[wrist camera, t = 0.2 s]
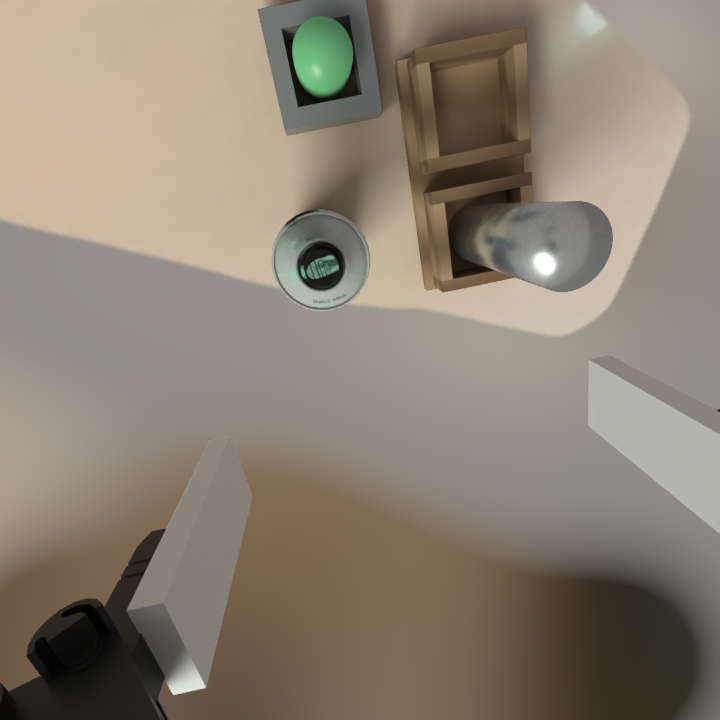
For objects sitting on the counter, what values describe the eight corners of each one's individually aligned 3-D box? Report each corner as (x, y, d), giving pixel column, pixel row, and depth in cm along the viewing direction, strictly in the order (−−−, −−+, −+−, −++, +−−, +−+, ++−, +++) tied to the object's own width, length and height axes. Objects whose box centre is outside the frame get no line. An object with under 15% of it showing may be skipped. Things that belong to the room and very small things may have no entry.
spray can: (280, 243, 38) (240, 276, 20) (317, 195, 37) (312, 183, 19) (326, 281, 40) (329, 345, 21) (362, 236, 39) (400, 262, 20)
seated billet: (444, 209, 37) (525, 211, 23) (497, 199, 38) (614, 193, 23) (450, 264, 39) (529, 299, 24) (501, 254, 39) (611, 282, 24)
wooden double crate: (394, 65, 34) (404, 46, 30) (511, 42, 34) (535, 20, 30) (424, 288, 41) (435, 296, 37) (522, 268, 41) (543, 274, 37)
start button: (288, 38, 32) (285, 22, 29) (344, 27, 32) (346, 10, 29) (302, 103, 33) (300, 94, 31) (355, 93, 33) (358, 82, 31)
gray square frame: (262, 23, 33) (257, 9, 30) (361, 3, 33) (364, -12, 30) (287, 135, 35) (284, 130, 33) (378, 117, 36) (382, 110, 33)
